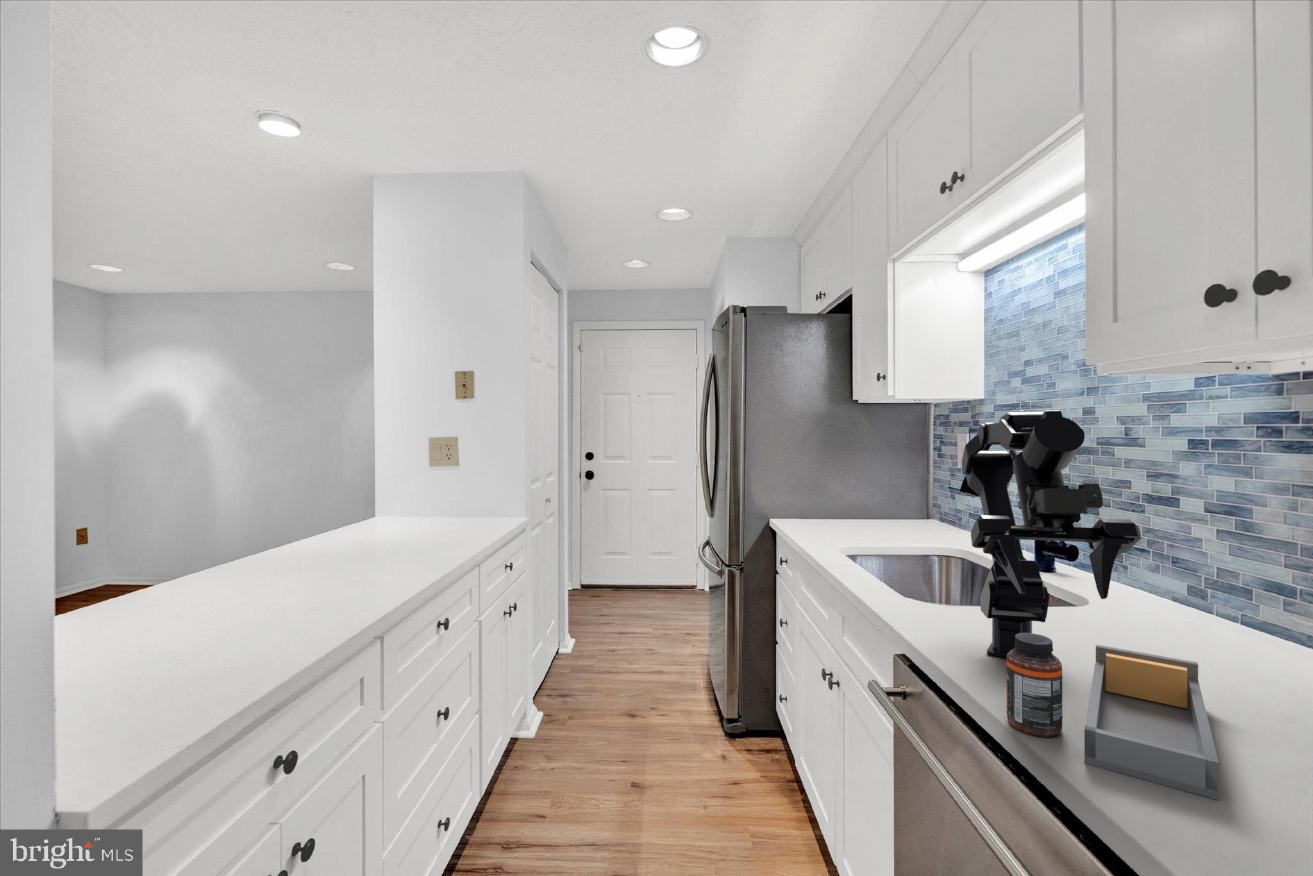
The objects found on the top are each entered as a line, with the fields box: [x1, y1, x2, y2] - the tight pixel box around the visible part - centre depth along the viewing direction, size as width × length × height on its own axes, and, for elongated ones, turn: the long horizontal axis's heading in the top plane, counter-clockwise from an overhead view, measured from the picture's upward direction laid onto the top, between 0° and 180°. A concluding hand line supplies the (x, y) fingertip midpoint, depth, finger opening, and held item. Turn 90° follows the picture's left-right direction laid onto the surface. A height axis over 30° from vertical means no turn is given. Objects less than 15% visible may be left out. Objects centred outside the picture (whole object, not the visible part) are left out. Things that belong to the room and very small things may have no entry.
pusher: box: [1106, 653, 1187, 708], centre depth 81 cm, size 4×8×5 cm, turn 51°
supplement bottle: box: [1006, 632, 1063, 738], centre depth 75 cm, size 6×6×11 cm
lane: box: [1083, 644, 1220, 801], centre depth 74 cm, size 26×11×6 cm, turn 141°
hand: (1062, 595), depth 77 cm, fingers open, 9 cm apart
